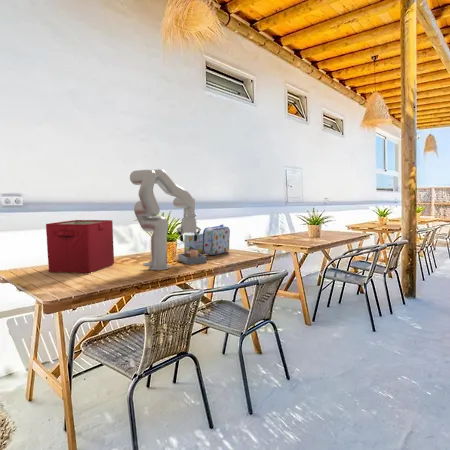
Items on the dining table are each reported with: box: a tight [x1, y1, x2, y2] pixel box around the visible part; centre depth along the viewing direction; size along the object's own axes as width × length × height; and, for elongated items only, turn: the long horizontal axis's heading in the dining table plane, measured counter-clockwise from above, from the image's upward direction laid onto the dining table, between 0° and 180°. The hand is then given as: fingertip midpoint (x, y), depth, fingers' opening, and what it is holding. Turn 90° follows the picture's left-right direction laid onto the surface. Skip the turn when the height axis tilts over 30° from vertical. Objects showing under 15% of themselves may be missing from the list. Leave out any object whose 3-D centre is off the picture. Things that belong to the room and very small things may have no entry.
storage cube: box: [45, 219, 115, 274], centre depth 203 cm, size 32×28×29 cm
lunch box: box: [202, 224, 231, 256], centre depth 253 cm, size 28×10×22 cm, turn 149°
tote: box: [177, 253, 207, 265], centre depth 224 cm, size 14×18×4 cm
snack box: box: [183, 232, 204, 254], centre depth 257 cm, size 21×6×15 cm, turn 143°
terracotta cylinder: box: [190, 250, 198, 258], centre depth 221 cm, size 5×5×7 cm
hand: (188, 241), depth 226 cm, fingers open, 9 cm apart
